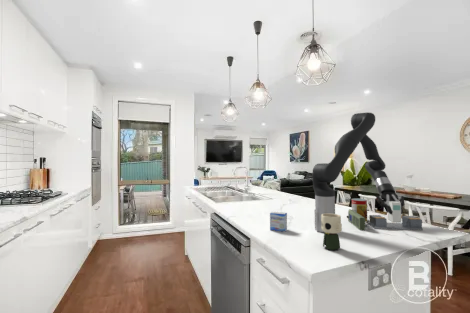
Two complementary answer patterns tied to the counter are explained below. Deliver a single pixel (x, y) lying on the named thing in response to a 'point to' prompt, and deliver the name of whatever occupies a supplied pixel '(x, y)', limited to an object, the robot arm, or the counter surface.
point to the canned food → (360, 207)
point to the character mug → (331, 230)
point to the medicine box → (278, 221)
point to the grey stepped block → (406, 224)
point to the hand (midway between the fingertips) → (396, 213)
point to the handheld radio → (356, 219)
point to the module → (395, 212)
